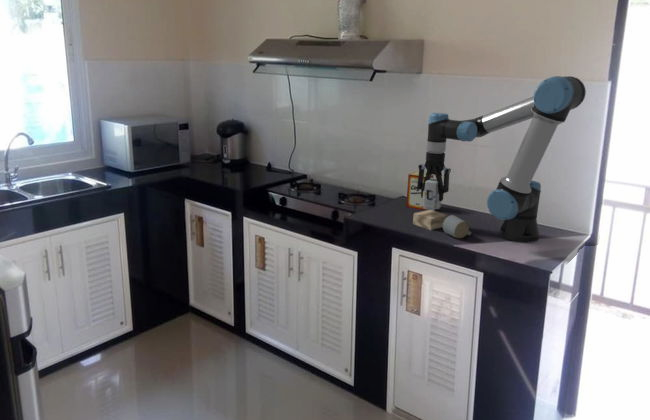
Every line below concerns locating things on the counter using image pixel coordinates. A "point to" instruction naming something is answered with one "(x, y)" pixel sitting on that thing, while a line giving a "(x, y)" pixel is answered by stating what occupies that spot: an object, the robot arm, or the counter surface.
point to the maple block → (429, 219)
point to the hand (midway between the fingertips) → (431, 206)
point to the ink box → (430, 194)
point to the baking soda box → (414, 192)
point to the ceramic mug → (456, 227)
